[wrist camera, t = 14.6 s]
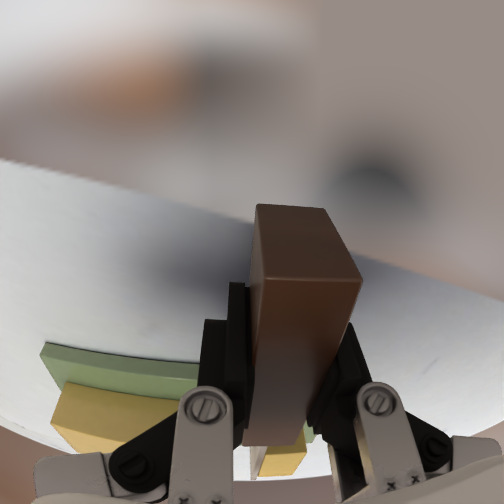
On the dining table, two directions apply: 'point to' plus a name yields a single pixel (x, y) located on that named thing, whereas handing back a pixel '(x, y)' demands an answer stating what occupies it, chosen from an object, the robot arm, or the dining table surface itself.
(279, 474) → the butter pat
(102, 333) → the dining table surface
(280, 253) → the knife
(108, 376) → the butter dish
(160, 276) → the dining table surface
